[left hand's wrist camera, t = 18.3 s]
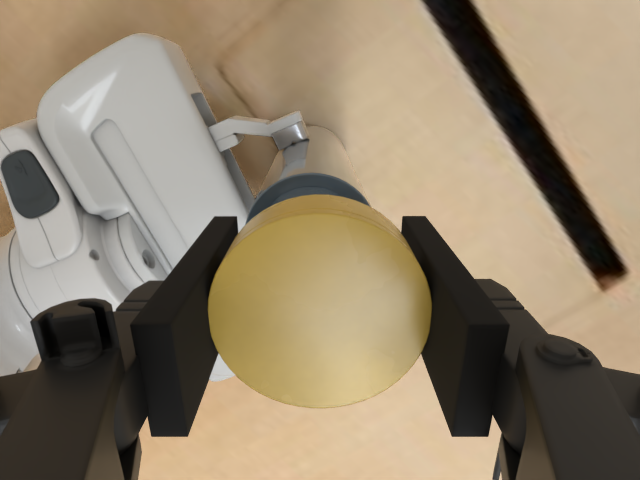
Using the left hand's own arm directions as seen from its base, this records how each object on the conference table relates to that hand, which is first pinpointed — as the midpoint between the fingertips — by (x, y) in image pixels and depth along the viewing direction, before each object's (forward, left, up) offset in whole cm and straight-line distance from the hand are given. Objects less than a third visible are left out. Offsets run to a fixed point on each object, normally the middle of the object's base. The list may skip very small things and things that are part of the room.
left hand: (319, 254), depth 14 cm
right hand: (-1, -1, -10) cm, 10 cm away
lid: (0, 0, +4) cm, 4 cm away
